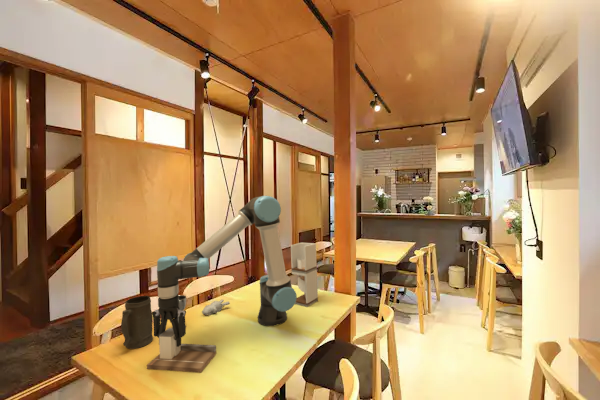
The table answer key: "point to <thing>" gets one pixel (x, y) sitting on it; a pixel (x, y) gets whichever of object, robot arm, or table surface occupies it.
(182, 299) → the wine glass
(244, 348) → the table surface
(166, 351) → the block
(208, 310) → the bunny figurine
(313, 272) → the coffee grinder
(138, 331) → the beer stein
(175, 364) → the board
